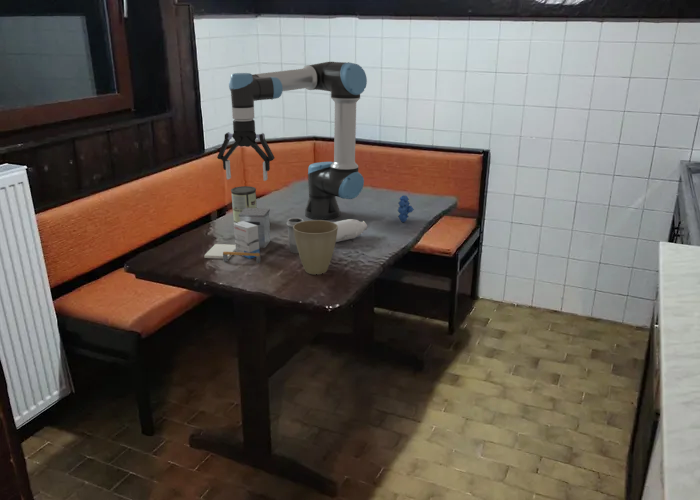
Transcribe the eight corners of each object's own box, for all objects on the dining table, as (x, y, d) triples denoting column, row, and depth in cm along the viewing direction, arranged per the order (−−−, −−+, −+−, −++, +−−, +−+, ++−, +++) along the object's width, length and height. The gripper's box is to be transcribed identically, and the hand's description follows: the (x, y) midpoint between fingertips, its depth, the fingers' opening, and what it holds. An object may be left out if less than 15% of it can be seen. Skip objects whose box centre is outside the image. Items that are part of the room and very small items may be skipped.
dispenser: (275, 240, 240) (274, 208, 235) (259, 263, 218) (257, 228, 213) (242, 239, 241) (240, 207, 237) (223, 261, 219) (220, 227, 215)
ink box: (260, 255, 224) (258, 225, 220) (249, 259, 221) (247, 228, 217) (245, 250, 230) (243, 220, 226) (234, 253, 226) (232, 223, 222)
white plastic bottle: (370, 238, 243) (371, 219, 240) (329, 247, 233) (329, 227, 230) (359, 232, 249) (359, 214, 246) (319, 241, 239) (318, 221, 236)
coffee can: (236, 217, 268) (234, 185, 263) (260, 218, 267) (258, 186, 262) (230, 224, 259) (227, 192, 254) (254, 225, 258) (252, 192, 253)
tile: (238, 247, 233) (238, 244, 232) (228, 258, 221) (228, 256, 221) (215, 246, 234) (215, 243, 233) (204, 257, 222) (204, 255, 222)
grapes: (410, 227, 255) (411, 199, 251) (394, 225, 257) (395, 197, 253) (416, 219, 266) (417, 191, 261) (400, 217, 267) (401, 190, 263)
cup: (285, 249, 231) (283, 218, 227) (301, 246, 233) (301, 216, 229) (291, 255, 225) (289, 224, 220) (308, 252, 227) (307, 221, 223)
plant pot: (342, 277, 206) (341, 231, 200) (297, 280, 203) (296, 235, 197) (333, 261, 220) (333, 218, 214) (292, 264, 217) (290, 221, 211)
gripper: (281, 118, 216) (283, 177, 224) (212, 117, 219) (217, 175, 227) (276, 121, 209) (278, 182, 217) (205, 120, 212) (210, 180, 220)
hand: (247, 179), depth 222 cm, fingers open, 13 cm apart
